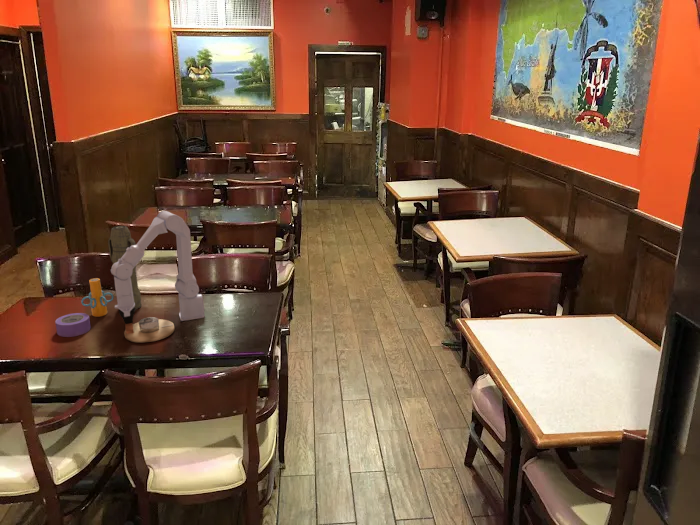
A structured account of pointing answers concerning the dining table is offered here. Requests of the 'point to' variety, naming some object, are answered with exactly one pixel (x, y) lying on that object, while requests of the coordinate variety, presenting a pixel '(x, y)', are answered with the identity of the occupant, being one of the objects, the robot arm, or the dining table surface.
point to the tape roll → (73, 324)
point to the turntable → (135, 335)
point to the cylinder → (97, 298)
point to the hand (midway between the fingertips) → (129, 326)
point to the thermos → (118, 248)
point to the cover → (149, 325)
